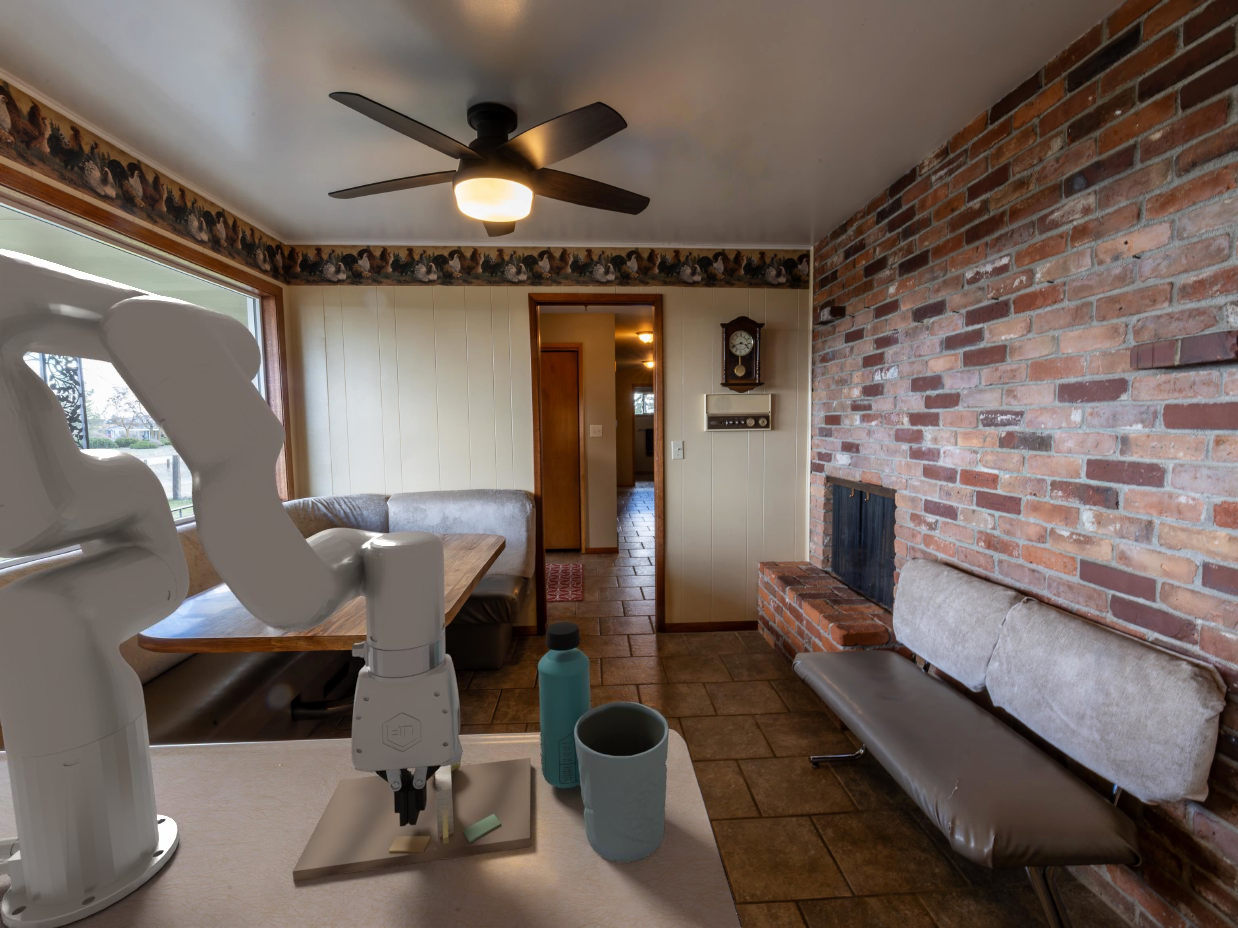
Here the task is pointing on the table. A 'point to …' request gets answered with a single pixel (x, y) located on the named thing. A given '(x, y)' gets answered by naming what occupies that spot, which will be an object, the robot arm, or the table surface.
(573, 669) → the beverage bottle
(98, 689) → the robot arm
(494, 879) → the table surface
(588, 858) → the table surface
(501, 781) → the cutting board
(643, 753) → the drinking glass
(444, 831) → the gold and silver piece
